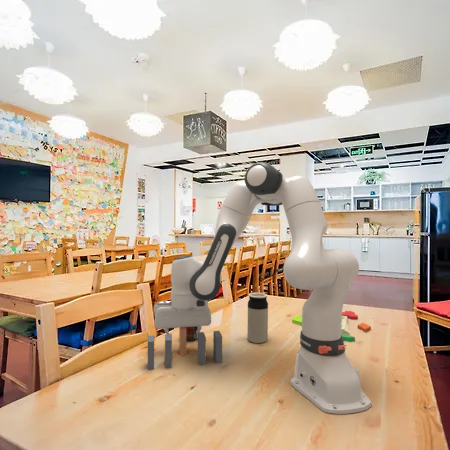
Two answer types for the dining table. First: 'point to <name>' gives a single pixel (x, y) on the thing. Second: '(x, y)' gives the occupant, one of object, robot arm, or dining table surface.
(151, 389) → the dining table surface
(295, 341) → the dining table surface
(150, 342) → the domino
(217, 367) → the dining table surface
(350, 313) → the pattern blocks set
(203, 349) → the domino
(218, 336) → the domino
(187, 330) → the deodorant
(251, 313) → the travel mug
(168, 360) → the domino
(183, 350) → the domino
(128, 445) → the dining table surface
